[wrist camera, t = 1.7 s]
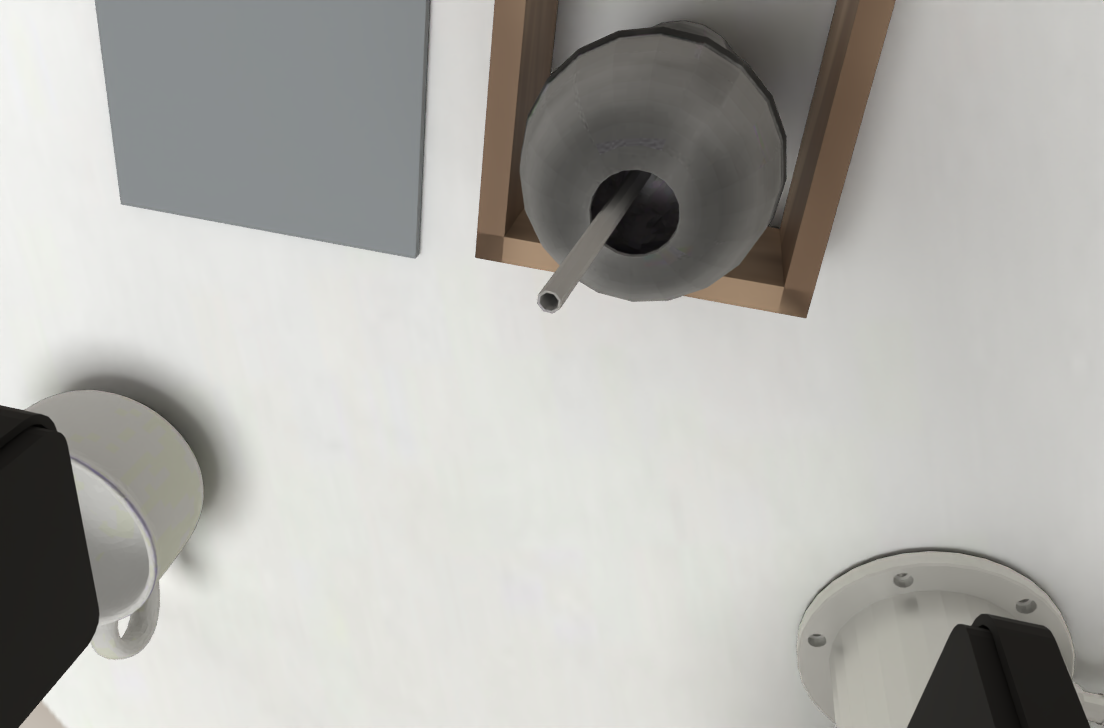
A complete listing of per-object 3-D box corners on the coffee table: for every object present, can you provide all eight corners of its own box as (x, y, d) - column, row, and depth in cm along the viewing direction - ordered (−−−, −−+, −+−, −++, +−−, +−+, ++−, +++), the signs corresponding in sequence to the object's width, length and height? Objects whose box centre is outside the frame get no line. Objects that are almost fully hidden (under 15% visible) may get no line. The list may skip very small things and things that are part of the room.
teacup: (24, 352, 47) (-101, 435, 40) (215, 374, 46) (119, 463, 39) (87, 559, 54) (-11, 660, 47) (256, 584, 52) (180, 693, 45)
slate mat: (434, -98, 33) (430, -97, 33) (418, 254, 40) (415, 258, 40) (84, -146, 35) (76, -146, 34) (127, 200, 42) (121, 204, 41)
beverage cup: (791, 154, 35) (830, 426, 18) (610, 193, 37) (488, 470, 20) (758, -45, 32) (768, 50, 15) (563, 10, 34) (372, 150, 17)
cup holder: (876, -36, 32) (900, -18, 26) (798, 255, 37) (806, 318, 32) (540, -83, 33) (500, -75, 28) (512, 205, 38) (475, 257, 33)
